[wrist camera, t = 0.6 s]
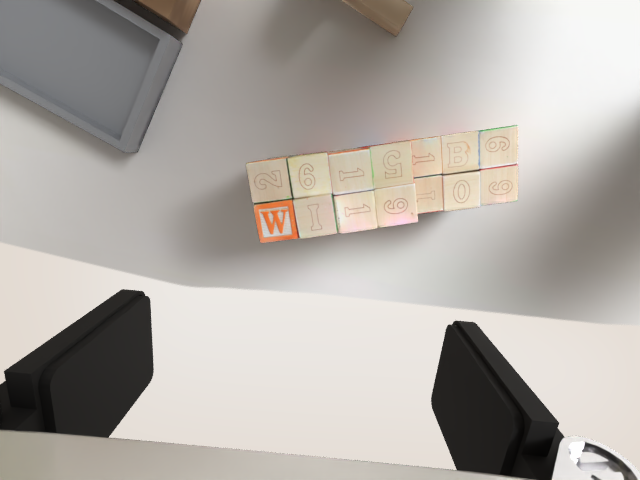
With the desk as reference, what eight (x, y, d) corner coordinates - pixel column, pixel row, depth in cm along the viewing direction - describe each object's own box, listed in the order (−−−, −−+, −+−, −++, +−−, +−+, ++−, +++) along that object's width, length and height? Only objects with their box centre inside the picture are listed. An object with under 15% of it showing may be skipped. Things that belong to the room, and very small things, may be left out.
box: (-16, -77, 31) (-44, -96, 29) (182, 43, 33) (171, 35, 31) (-47, 49, 34) (-76, 41, 31) (137, 152, 36) (124, 152, 34)
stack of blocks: (471, 131, 35) (545, 121, 23) (472, 190, 37) (541, 210, 25) (270, 158, 36) (242, 162, 24) (279, 214, 38) (258, 244, 26)
